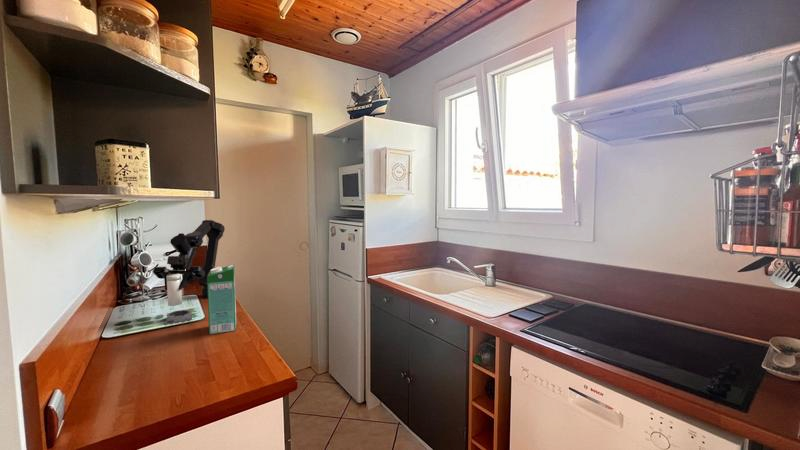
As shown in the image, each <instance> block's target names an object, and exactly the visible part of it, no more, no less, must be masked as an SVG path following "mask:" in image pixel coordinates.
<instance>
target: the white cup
mask: <svg viewBox="0 0 800 450" xmlns="http://www.w3.org/2000/svg"><path fill="white" fill-rule="evenodd" d="M181 281H182V274H170V275H167V290H166V292H167V293H166V295H167V306H169V307H176V306H179V305H182V304H183V291H182V290H183V288H182V289H181V290H179V286H180V284H181Z"/></svg>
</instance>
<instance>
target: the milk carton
mask: <svg viewBox="0 0 800 450" xmlns="http://www.w3.org/2000/svg"><path fill="white" fill-rule="evenodd" d="M235 266H236V265H235V264H231V265H228V266H225V267H222V266H217V267H216V266H215V268H213V269H211V270H210V272H209V274H208V276H207V288H208V298H207V312H208V334H209V335H215V334H221V333H229V332H234V331H237V305H236V304H237V303H236V302H237V301H236V300H237V298H236V267H235Z"/></svg>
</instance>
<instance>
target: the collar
mask: <svg viewBox="0 0 800 450" xmlns="http://www.w3.org/2000/svg"><path fill="white" fill-rule="evenodd" d="M192 314H193V313H192V311H191V310H189V309H180V310H174V311H172V312H171V311H170V312H169V313H166V319H165V325H166V324H169V325H174V324H173V323H175V324H180V323H179V322H181V323H185V322H184V321H187V322H191V321H190V320H192V321H193V315H192Z"/></svg>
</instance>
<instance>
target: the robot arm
mask: <svg viewBox="0 0 800 450" xmlns="http://www.w3.org/2000/svg"><path fill="white" fill-rule="evenodd" d="M225 229H226V227H225V225H224V224H222V223H220V222H217V221H215V220H213V219H204V220H202V222H201V224H200V225H199V226H198V227H197V228H196V229H195V230H193V231H192V232H189V233H187V234H185V233H183V232H181V233H178V234H177V235H175V236H172V238H170V241H169V242H170V244H171V246H172V247H173V248H174V250H175V251H176V252H177V253H179V254H178V255H169V256H167V261H166V264H167V265H169V266H170V269H169V268H167V266H155V267H154V268H153V270H152V273H153V274H154V276H155V277H156V278H157V279H163V280H164V290H165V291H167V275H170V274H181V275H183V276H182V278H181V284H180V286H179V290H181V289H182V290H183V289H184V288H185V287H186V286H187V285H188V284H189V283H191V282H192V281H193V280H197V282H198V284H199V287H201V297H202V298H203V299H208V288H207V276H208V274H209V272H210V270H211V269H213V268H216V261H217V253H218V246H219V241H220V240H221V238H222V237H223V236H224V233H225V231H226V230H225ZM205 236H206V237H207V238H208V241H207V246H206V253H205V259H204V266H200V265H195V266H194V265H193V261H194V260H193V259H194V257H196V256H197V255H198V254H197V252H196V248H201V246H202V245H203V243H204V240H203V239H204V237H205Z"/></svg>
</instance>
